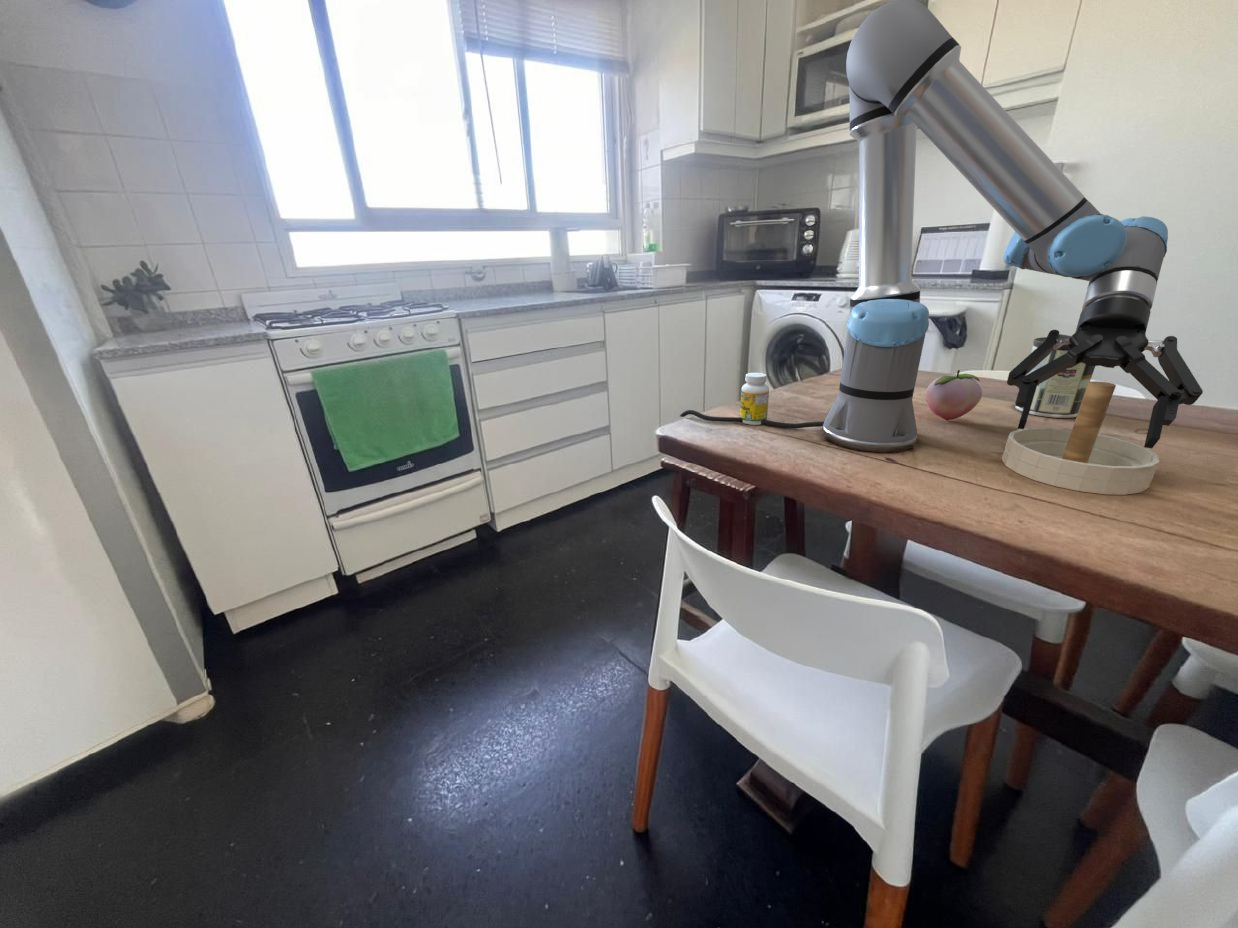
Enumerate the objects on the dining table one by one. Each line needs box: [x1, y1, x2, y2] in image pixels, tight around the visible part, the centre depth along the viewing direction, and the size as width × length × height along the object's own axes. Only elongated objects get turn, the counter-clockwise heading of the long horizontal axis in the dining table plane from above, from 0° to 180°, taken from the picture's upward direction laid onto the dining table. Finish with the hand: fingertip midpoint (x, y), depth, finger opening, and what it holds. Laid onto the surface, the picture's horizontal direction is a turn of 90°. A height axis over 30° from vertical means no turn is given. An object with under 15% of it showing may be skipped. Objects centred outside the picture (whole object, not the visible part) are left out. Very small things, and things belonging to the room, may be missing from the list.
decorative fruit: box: [925, 369, 983, 421], centre depth 95 cm, size 9×8×10 cm
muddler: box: [1061, 380, 1117, 464], centre depth 70 cm, size 5×5×13 cm
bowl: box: [1001, 427, 1160, 496], centre depth 72 cm, size 16×16×4 cm
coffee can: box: [1014, 336, 1096, 419], centre depth 98 cm, size 10×10×14 cm
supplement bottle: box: [739, 372, 770, 426], centre depth 98 cm, size 5×5×10 cm
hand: (1083, 433), depth 69 cm, fingers open, 13 cm apart
